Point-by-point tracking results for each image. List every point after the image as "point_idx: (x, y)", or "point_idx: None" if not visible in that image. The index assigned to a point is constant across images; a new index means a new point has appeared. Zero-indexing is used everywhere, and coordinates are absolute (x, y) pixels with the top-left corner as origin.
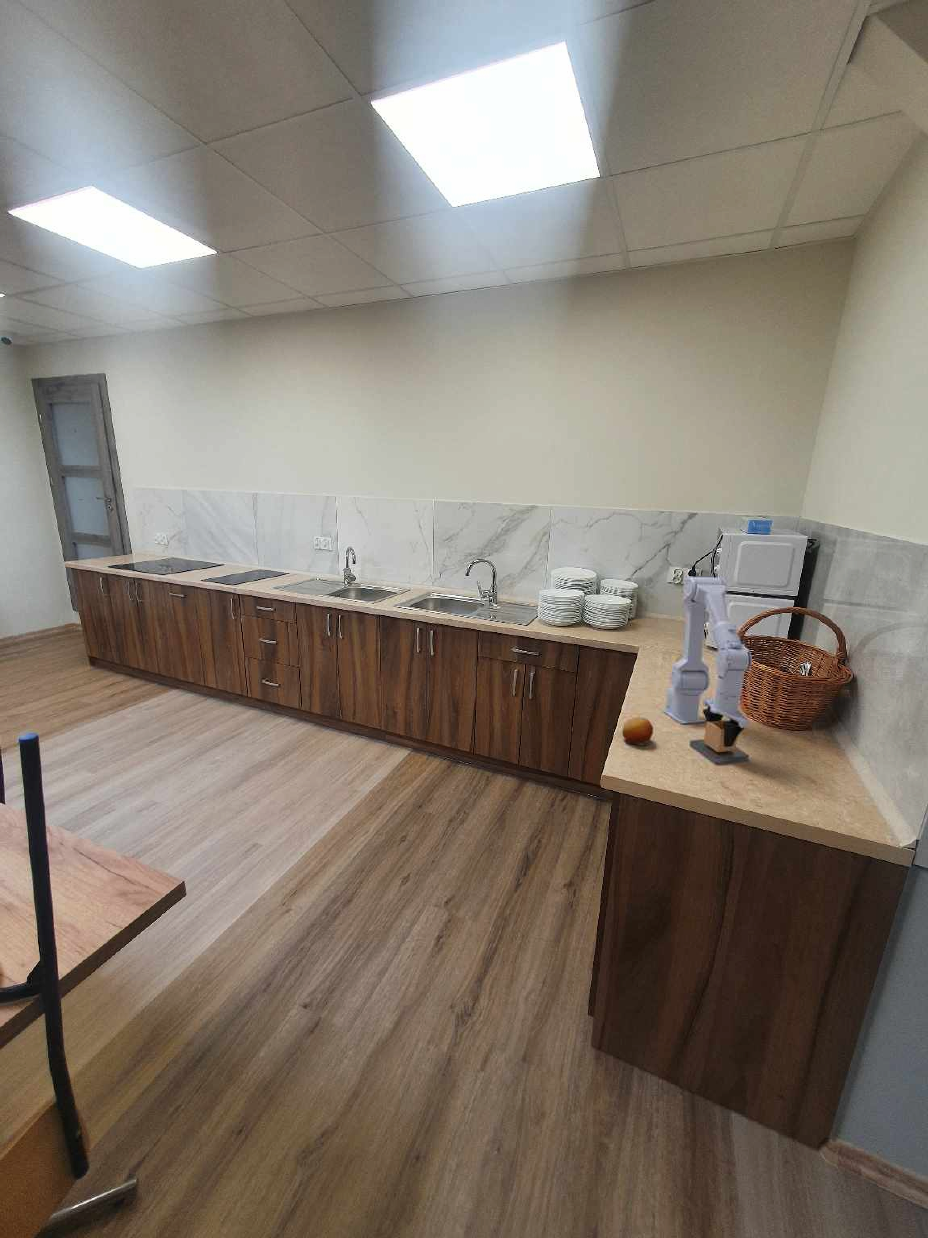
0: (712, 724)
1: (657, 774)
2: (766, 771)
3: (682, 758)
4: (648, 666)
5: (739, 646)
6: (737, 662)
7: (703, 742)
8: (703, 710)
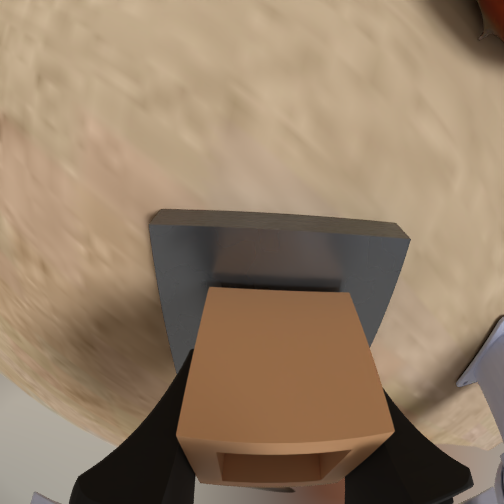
0: (331, 446)
1: None
2: (110, 358)
3: (276, 49)
4: None
5: None
6: None
7: (358, 297)
8: (469, 487)
